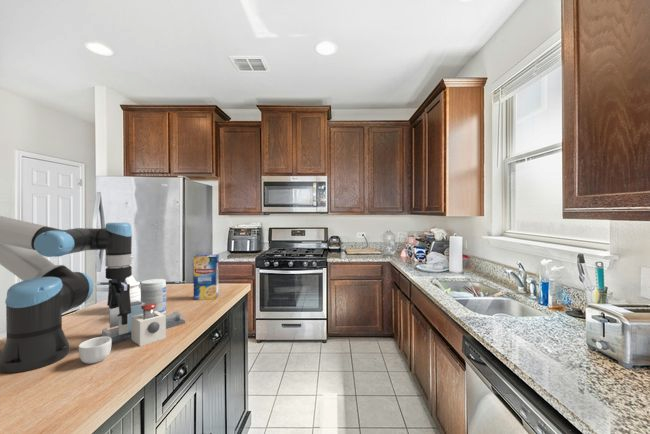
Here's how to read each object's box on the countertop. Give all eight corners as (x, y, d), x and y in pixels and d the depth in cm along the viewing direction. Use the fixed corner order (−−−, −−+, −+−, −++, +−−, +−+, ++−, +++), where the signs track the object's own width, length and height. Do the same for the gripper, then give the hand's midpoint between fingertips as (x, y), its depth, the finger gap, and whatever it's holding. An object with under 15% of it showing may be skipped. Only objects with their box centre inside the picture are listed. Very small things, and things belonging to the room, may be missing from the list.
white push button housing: (140, 346, 95) (140, 322, 95) (131, 339, 100) (131, 316, 100) (166, 338, 101) (166, 315, 101) (156, 332, 107) (156, 310, 107)
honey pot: (149, 307, 135) (149, 269, 135) (118, 316, 123) (118, 274, 123) (133, 303, 141) (133, 266, 141) (102, 311, 129) (102, 271, 129)
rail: (109, 344, 96) (109, 335, 96) (100, 336, 103) (100, 328, 103) (185, 323, 116) (185, 315, 116) (173, 317, 122) (173, 310, 122)
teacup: (100, 366, 83) (100, 347, 83) (71, 367, 82) (71, 348, 82) (121, 350, 93) (121, 333, 93) (95, 351, 92) (95, 334, 92)
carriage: (123, 333, 102) (123, 306, 102) (119, 329, 105) (119, 304, 105) (145, 327, 107) (145, 302, 107) (140, 324, 110) (140, 299, 110)
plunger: (144, 330, 98) (144, 308, 98) (139, 326, 101) (139, 305, 101) (158, 326, 101) (158, 304, 101) (153, 323, 104) (153, 302, 104)
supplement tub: (169, 315, 125) (169, 281, 125) (143, 320, 119) (143, 284, 118) (162, 309, 132) (162, 277, 132) (138, 314, 126) (138, 280, 125)
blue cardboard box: (216, 299, 149) (216, 256, 149) (193, 300, 147) (193, 256, 147) (218, 295, 156) (218, 254, 156) (197, 296, 154) (197, 254, 154)
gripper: (142, 268, 99) (142, 334, 99) (120, 261, 112) (120, 319, 112) (116, 271, 93) (116, 342, 93) (96, 264, 106) (96, 325, 107)
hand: (118, 329), depth 103 cm, fingers open, 9 cm apart
